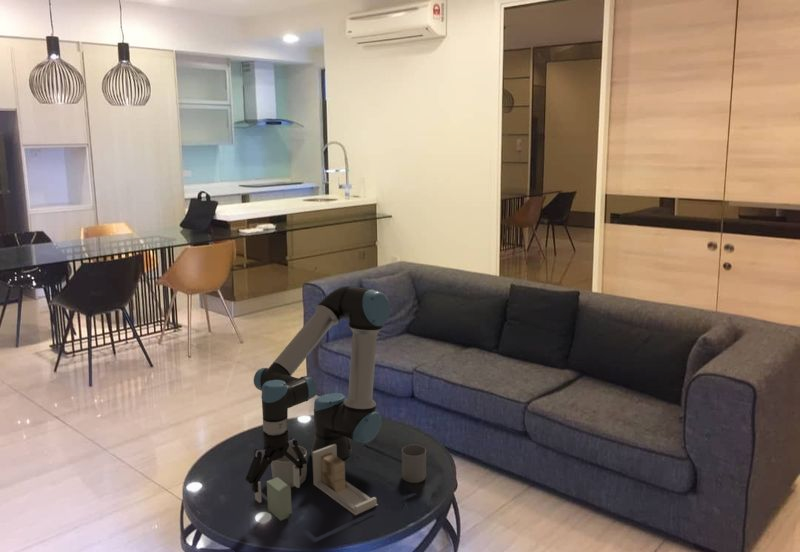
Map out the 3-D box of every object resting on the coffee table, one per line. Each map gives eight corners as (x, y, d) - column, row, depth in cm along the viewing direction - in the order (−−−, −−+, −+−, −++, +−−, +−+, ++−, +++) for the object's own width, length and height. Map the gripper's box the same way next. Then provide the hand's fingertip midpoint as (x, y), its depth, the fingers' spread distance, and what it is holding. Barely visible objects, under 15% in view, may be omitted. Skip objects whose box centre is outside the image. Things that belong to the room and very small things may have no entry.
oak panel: (322, 483, 223) (321, 456, 221) (331, 479, 226) (331, 452, 223) (335, 493, 217) (334, 465, 215) (345, 489, 220) (344, 461, 217)
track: (313, 486, 223) (312, 451, 220) (335, 477, 229) (334, 443, 226) (355, 518, 205) (354, 480, 202) (378, 507, 211) (377, 470, 208)
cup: (423, 483, 224) (423, 457, 222) (400, 481, 226) (399, 455, 224) (427, 471, 233) (427, 445, 230) (404, 469, 234) (404, 443, 232)
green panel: (268, 509, 210) (266, 481, 208) (279, 505, 212) (277, 477, 210) (280, 520, 204) (279, 491, 202) (291, 515, 206) (290, 487, 204)
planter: (291, 495, 218) (290, 465, 215) (264, 485, 224) (262, 456, 222) (315, 479, 228) (314, 450, 226) (288, 469, 234) (287, 441, 232)
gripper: (244, 446, 191) (247, 512, 195) (316, 423, 207) (317, 484, 211) (232, 437, 197) (235, 501, 201) (303, 415, 212) (305, 475, 217)
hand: (277, 493), depth 206 cm, fingers open, 13 cm apart
